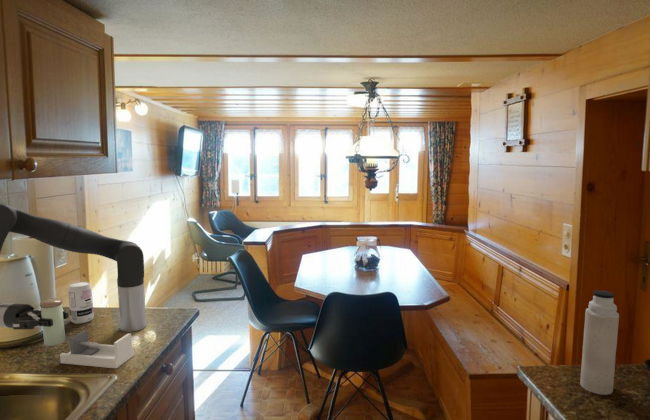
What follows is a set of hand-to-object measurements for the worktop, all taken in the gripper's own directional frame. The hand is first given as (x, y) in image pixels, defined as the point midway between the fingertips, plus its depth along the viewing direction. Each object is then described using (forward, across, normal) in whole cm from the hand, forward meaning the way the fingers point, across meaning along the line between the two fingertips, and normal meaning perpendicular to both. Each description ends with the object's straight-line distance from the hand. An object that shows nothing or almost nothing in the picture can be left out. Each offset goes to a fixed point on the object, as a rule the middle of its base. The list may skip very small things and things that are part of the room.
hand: (59, 318), depth 136 cm
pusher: (+2, +8, +15) cm, 18 cm away
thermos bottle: (+158, +18, +17) cm, 160 cm away
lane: (+5, +8, +17) cm, 19 cm away
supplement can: (-24, +37, +17) cm, 48 cm away
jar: (-3, 0, +8) cm, 8 cm away
